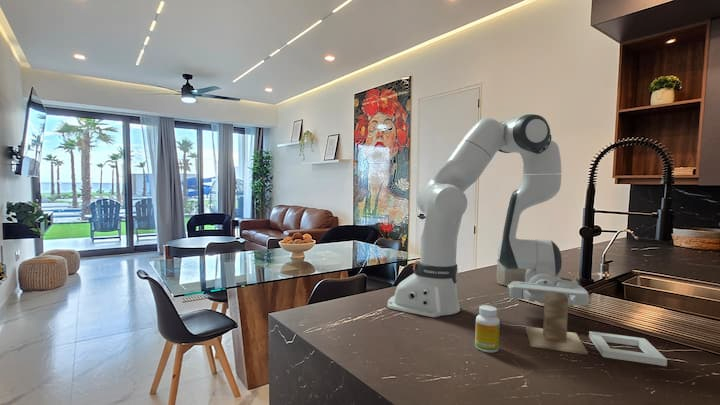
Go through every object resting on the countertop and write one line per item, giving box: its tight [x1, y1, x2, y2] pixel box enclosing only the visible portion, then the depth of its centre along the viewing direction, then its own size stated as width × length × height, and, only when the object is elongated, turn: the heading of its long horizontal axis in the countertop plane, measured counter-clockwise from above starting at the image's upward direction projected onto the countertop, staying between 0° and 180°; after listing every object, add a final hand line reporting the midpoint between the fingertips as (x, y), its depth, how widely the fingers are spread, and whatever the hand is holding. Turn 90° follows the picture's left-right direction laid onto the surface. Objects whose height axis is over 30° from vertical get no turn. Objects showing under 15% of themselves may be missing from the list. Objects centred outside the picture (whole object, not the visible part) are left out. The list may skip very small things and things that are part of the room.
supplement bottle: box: [474, 304, 501, 354], centre depth 87 cm, size 5×5×10 cm
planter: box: [495, 258, 527, 287], centre depth 146 cm, size 11×11×10 cm
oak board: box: [525, 326, 589, 355], centre depth 92 cm, size 12×12×1 cm
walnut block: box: [542, 292, 569, 343], centre depth 92 cm, size 4×4×11 cm
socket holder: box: [588, 330, 668, 367], centre depth 87 cm, size 12×12×2 cm
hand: (551, 300), depth 99 cm, fingers open, 8 cm apart
